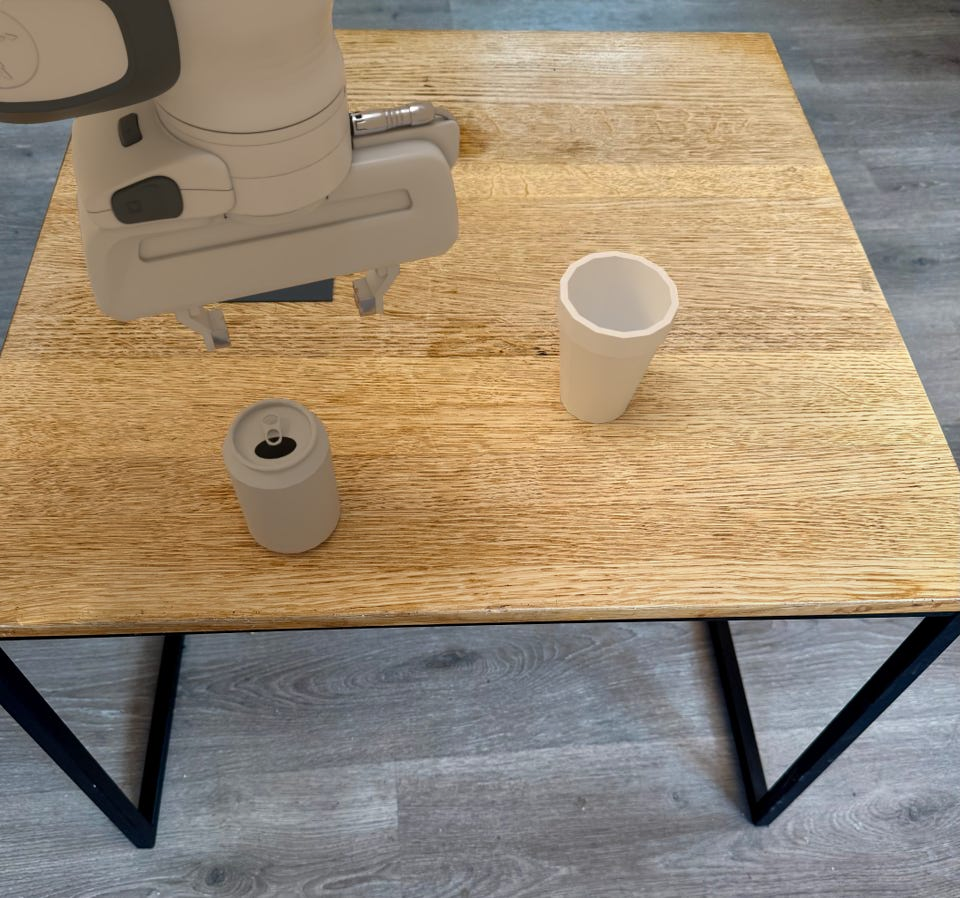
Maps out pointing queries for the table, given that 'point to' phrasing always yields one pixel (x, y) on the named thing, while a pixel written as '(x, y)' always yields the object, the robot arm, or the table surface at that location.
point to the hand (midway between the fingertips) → (295, 324)
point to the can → (283, 475)
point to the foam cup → (610, 330)
